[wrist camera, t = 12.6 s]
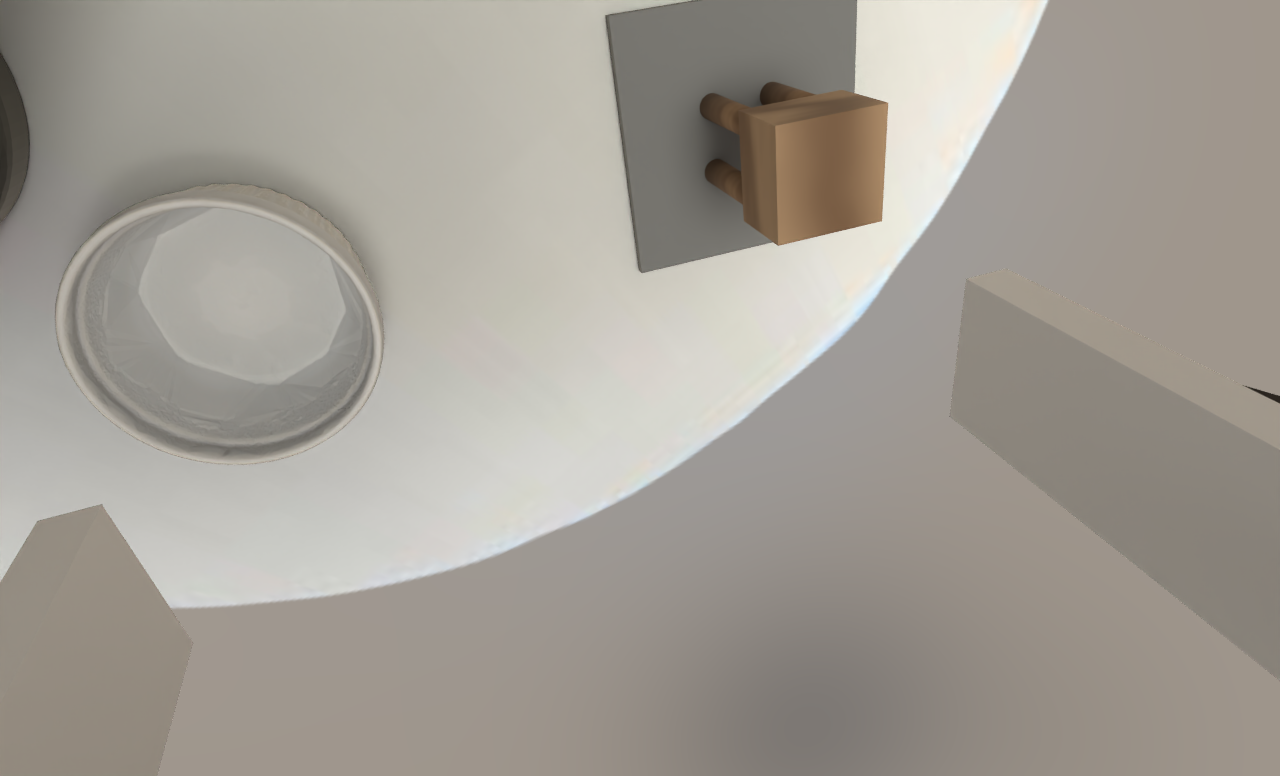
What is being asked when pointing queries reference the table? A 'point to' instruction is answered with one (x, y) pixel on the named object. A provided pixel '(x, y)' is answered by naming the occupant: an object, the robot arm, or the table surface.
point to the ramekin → (221, 324)
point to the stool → (803, 160)
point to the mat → (672, 92)
